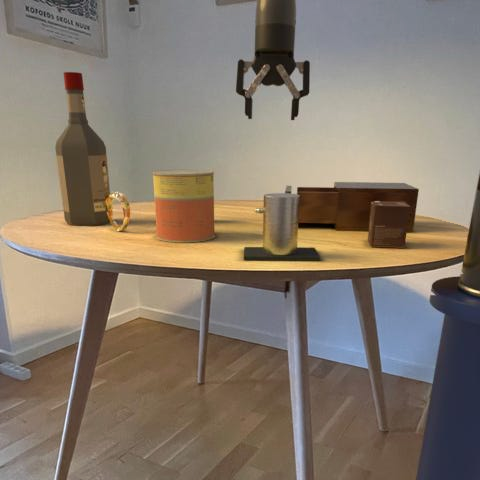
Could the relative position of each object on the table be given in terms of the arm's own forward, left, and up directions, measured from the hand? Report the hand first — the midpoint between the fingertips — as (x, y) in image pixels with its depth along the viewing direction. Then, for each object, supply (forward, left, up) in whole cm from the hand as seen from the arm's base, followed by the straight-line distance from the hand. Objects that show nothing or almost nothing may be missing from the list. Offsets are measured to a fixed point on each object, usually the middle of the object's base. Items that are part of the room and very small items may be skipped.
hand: (271, 119), depth 94 cm
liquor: (+32, +25, -22) cm, 46 cm away
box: (-27, -1, -22) cm, 34 cm away
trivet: (-19, +19, -21) cm, 34 cm away
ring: (+18, +26, -22) cm, 38 cm away
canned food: (+4, +20, -22) cm, 29 cm away
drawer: (-4, -9, -20) cm, 23 cm away
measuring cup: (-19, +19, -21) cm, 34 cm away
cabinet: (-15, -17, -21) cm, 31 cm away
